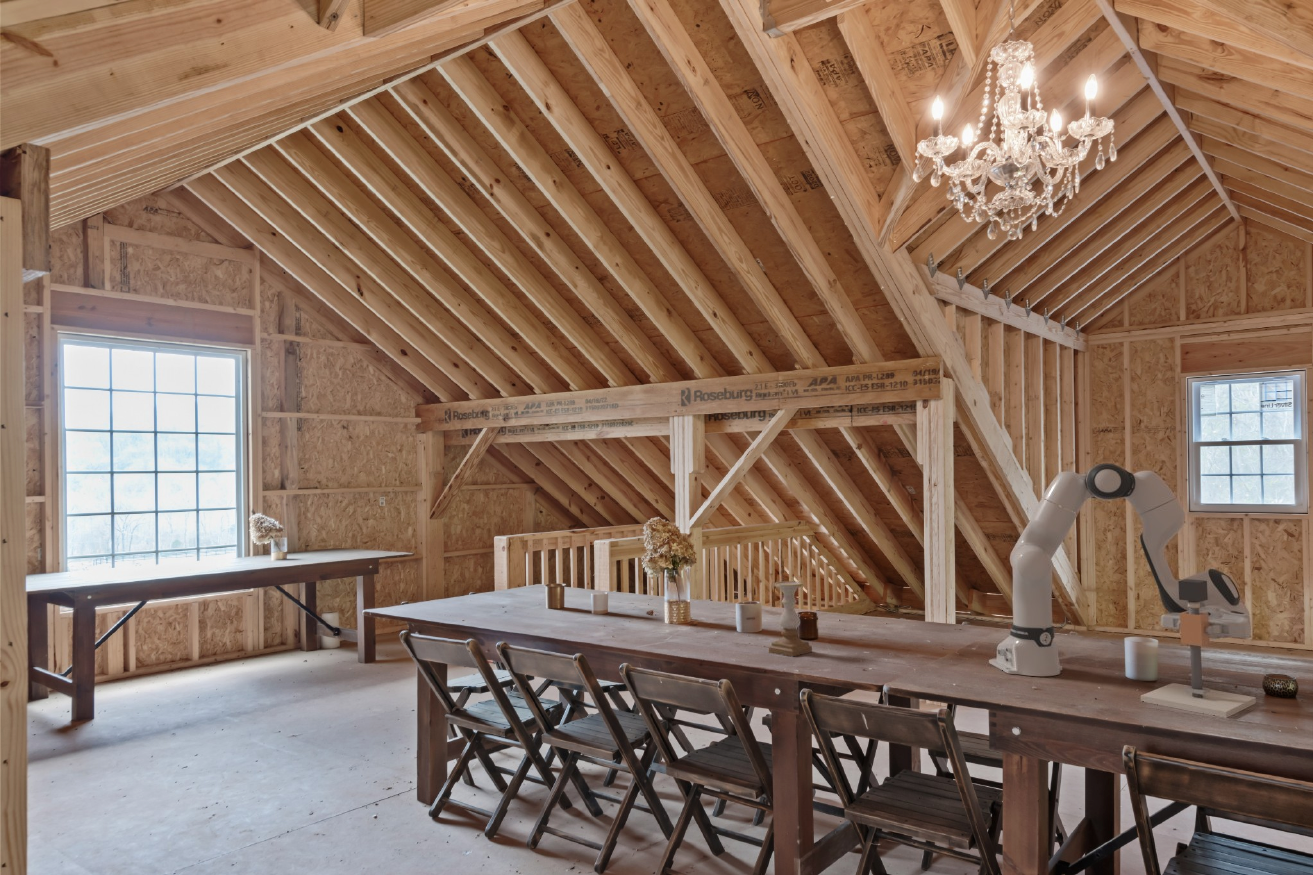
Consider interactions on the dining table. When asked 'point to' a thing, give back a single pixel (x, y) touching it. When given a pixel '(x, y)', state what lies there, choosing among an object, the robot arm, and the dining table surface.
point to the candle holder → (789, 624)
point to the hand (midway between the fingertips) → (1193, 628)
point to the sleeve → (1194, 628)
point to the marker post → (1197, 673)
